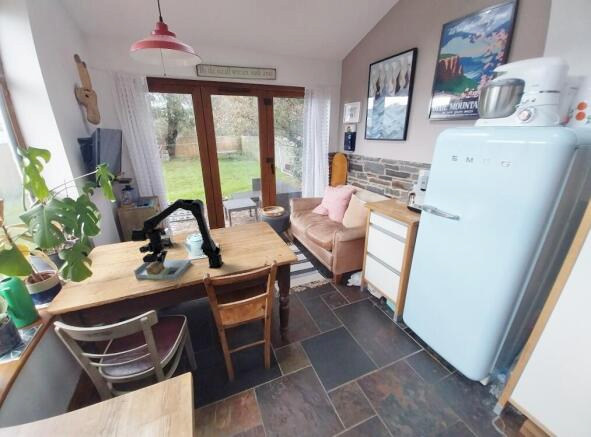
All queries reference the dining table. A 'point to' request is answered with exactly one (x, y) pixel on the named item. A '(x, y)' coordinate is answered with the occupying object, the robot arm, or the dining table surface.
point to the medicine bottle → (167, 236)
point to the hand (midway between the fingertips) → (162, 264)
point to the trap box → (170, 272)
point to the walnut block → (155, 268)
